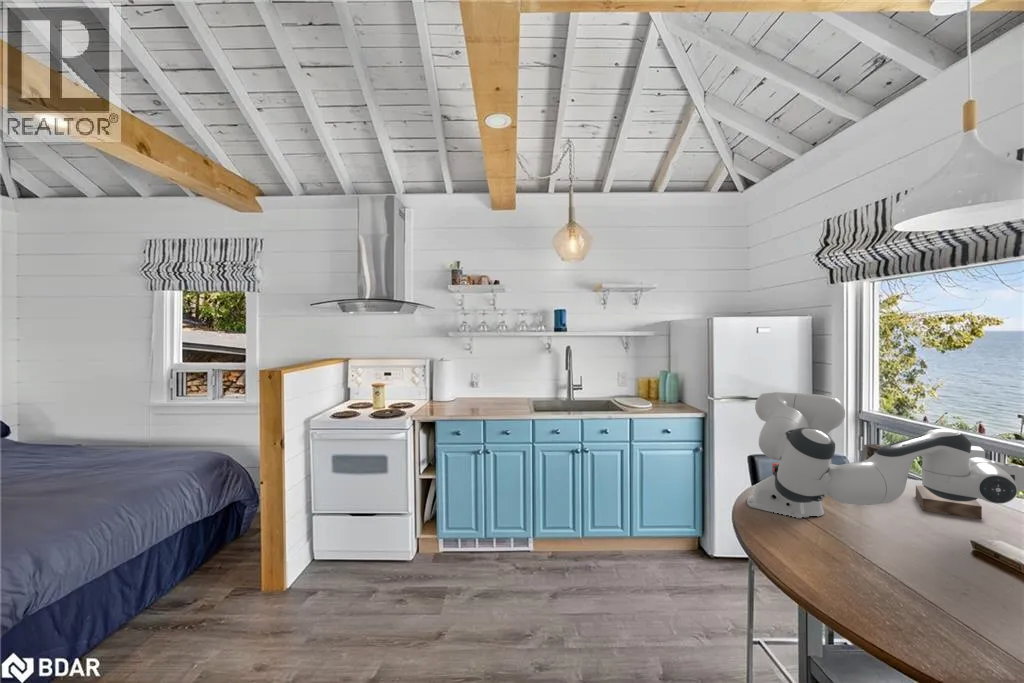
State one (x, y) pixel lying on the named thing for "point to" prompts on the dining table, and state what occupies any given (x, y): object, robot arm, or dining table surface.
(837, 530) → the dining table surface
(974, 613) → the dining table surface
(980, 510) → the stand
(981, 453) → the block
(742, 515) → the dining table surface
